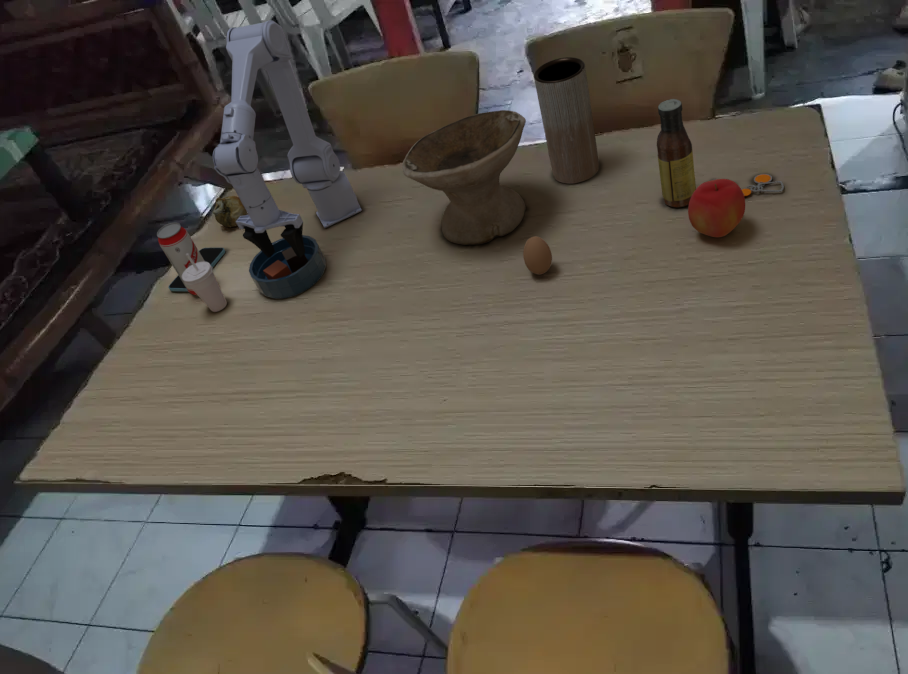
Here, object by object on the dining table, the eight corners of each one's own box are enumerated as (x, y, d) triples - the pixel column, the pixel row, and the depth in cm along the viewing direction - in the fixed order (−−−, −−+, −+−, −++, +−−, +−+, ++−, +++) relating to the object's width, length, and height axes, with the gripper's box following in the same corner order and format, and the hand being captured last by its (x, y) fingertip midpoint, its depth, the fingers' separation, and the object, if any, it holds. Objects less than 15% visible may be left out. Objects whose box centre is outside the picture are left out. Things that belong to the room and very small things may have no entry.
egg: (535, 284, 135) (527, 250, 130) (522, 271, 139) (514, 238, 133) (560, 272, 136) (552, 238, 130) (546, 259, 140) (538, 225, 134)
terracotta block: (285, 274, 158) (277, 259, 155) (295, 280, 155) (287, 265, 153) (271, 284, 156) (262, 270, 154) (280, 291, 154) (272, 276, 151)
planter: (595, 153, 160) (580, 51, 145) (603, 177, 153) (588, 73, 138) (550, 165, 162) (530, 65, 146) (556, 189, 155) (536, 87, 139)
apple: (756, 234, 129) (757, 185, 122) (708, 255, 129) (707, 208, 122) (724, 209, 136) (724, 162, 129) (679, 229, 136) (676, 183, 129)
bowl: (518, 170, 164) (498, 85, 150) (563, 224, 146) (545, 133, 132) (412, 213, 163) (382, 132, 149) (444, 273, 145) (414, 187, 131)
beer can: (222, 279, 164) (188, 221, 152) (207, 298, 160) (172, 240, 149) (200, 278, 166) (165, 220, 155) (184, 296, 162) (148, 238, 151)
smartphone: (225, 247, 172) (191, 288, 162) (227, 251, 172) (193, 292, 163) (201, 247, 174) (166, 288, 165) (203, 251, 175) (168, 292, 166)
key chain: (782, 173, 139) (782, 169, 138) (784, 196, 134) (784, 192, 134) (711, 179, 143) (711, 175, 143) (711, 201, 139) (710, 197, 138)
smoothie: (225, 315, 154) (191, 263, 144) (199, 316, 156) (164, 265, 146) (237, 294, 158) (204, 243, 148) (212, 296, 160) (178, 245, 150)
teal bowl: (316, 244, 164) (307, 225, 161) (335, 277, 153) (325, 259, 150) (253, 274, 162) (243, 256, 159) (267, 310, 151) (256, 292, 148)
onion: (255, 221, 178) (239, 194, 173) (224, 236, 177) (208, 209, 172) (248, 209, 184) (233, 181, 178) (219, 223, 182) (202, 196, 177)
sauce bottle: (701, 192, 142) (697, 95, 128) (689, 211, 139) (684, 114, 125) (668, 188, 145) (661, 94, 131) (656, 207, 142) (647, 112, 128)
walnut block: (305, 258, 160) (298, 243, 157) (310, 266, 157) (303, 251, 155) (289, 266, 160) (281, 251, 157) (294, 275, 157) (286, 260, 154)
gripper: (217, 212, 143) (249, 266, 152) (278, 210, 137) (307, 267, 147) (235, 191, 147) (265, 245, 156) (294, 188, 141) (322, 244, 151)
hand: (286, 254), depth 152 cm, fingers open, 7 cm apart
